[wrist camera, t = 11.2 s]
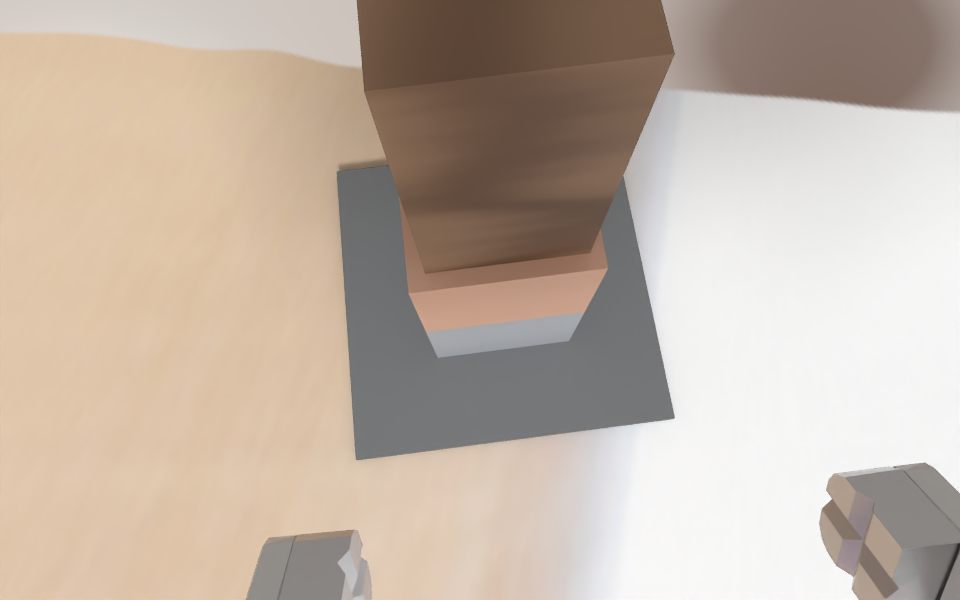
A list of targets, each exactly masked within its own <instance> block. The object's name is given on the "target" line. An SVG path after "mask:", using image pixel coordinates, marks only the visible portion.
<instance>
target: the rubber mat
mask: <svg viewBox="0 0 960 600" xmlns="http://www.w3.org/2000/svg"><path fill="white" fill-rule="evenodd" d="M337 182H338V197H339V212H340V227H341V242H342V257H343V272H344V287H345V302H346V317H347V332H348V347H349V362H350V377H351V392H352V407H353V422H354V437H355V452H356V460H363V459H371V458H378V457H386V456H394V455H401V454H409V453H417V452H424V451H432V450H439V449H447V448H455V447H462V446H470V445H478V444H485V443H493V442H501V441H508V440H516V439H524V438H531V437H539V436H547V435H554V434H562V433H570V432H577V431H585V430H593V429H600V428H608V427H616V426H623V425H631V424H639V423H646V422H654V421H662V420H669V419H674V418H675V417H674V412H673V408H672V403H671V398H670V393H669V389H668V384H667V379H666V375H665V370H664V365H663V361H662V356H661V351H660V347H659V342H658V337H657V333H656V328H655V323H654V318H653V314H652V309H651V304H650V300H649V295H648V290H647V286H646V281H645V276H644V272H643V267H642V262H641V257H640V253H639V248H638V243H637V239H636V234H635V229H634V225H633V220H632V215H631V211H630V206H629V201H628V197H627V192H626V187H625V182H624V178H623V177H622V179H621V182H620V184H619V186H618V189H617V191H616V193H615V196H614V198H613V200H612V203H611V205H610V207H609V210H608V212H607V215H606V217H605V219H604V222H603V224H602V226H601V233H602V238H603V244H604V249H605V254H606V259H607V264H608V270H607V272H606V273H605V275H604V277H603V279H602V281H601V283H600V285H599V286H598V288H597V290H596V292H595V294H594V296H593V298H592V299H591V301H590V303H589V305H588V307H587V309H586V310H585V312H584V314H583V316H582V318H581V320H580V322H579V323H578V325H577V327H576V329H575V331H574V333H573V335H572V336H571V338H570V340H569V341H565V342H558V343H550V344H542V345H534V346H527V347H519V348H511V349H503V350H495V351H488V352H480V353H472V354H464V355H456V356H449V357H441V358H438V357H437V355H436V353H435V351H434V348H433V346H432V344H431V342H430V340H429V337H428V335H427V333H426V331H425V329H424V326H423V324H422V322H421V320H420V318H419V315H418V313H417V311H416V309H415V307H414V305H413V302H412V300H411V298H410V296H409V294H408V283H407V273H406V263H405V253H404V242H403V232H402V222H401V212H400V201H399V194H398V191H397V188H396V185H395V182H394V179H393V176H392V173H391V170H390V167H389V165H387V166H379V167H371V168H363V169H354V170H346V171H338V172H337Z"/></svg>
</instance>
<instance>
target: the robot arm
mask: <svg viewBox="0 0 960 600" xmlns="http://www.w3.org/2000/svg"><path fill="white" fill-rule="evenodd" d="M826 491H827V492H828V494H829V495H830V496H831V498H832V500H831V501H830V502H829V503H828V504H827V505H825V506H824V507H823V508H822V511H821V516H820V522H819V525H820V530H821V536H822V540H823V543H824V545H825V547H826V550H827V552H828V554H829V555H830V557H831V558H832V560H833V561H834V563H835V564H836V566H838V567H839V568H841V569H843V570H844V571H846V572H847V573H849V574H851V575H852V576H853V583H852V590H853V592H854V593H855V595H856V596H857V598H858V599H859V600H960V493H959V492H958V491H957V490H956V489H955V488H954V487H953V486H952V485H951V484H950V483H949V482H948V481H947V480H946V479H945V478H944V477H943V476H942V475H941V474H940V473H939V472H938V471H937V470H936V469H935V468H933V467H932V466H930V465H928V464H926V463H918V464H909V465H901V466H894V467H882V468H874V469H866V470H859V471H851V472H843V473H835V474H833V476H832V477H831V478H830V479H829V481H828V485H827V489H826ZM361 549H362V542H361V539H360V535H359V532H358V530H346V531H335V532H323V533H312V534H301V535H294V536H283V537H273V538H268V539H267V541H266V542H265V544H264V545H263V547H262V550H261V553H260V556H259V559H258V562H257V565H256V569H255V572H254V575H253V578H252V581H251V585H250V588H249V591H248V594H247V597H246V600H372V584H371V577H370V570H369V567H368V563H367V561H366V560H364V559H363V558H361Z"/></svg>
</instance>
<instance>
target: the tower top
mask: <svg viewBox="0 0 960 600" xmlns="http://www.w3.org/2000/svg"><path fill="white" fill-rule="evenodd" d="M399 201H400V212H401V222H402V232H403V242H404V253H405V263H406V273H407V283H408V294H409V296H410V298H411V300H412V302H413V305H414V307H415V309H416V311H417V313H418V315H419V318H420V320H421V322H422V324H423V326H424V329H425V331H426V332H433V331H441V330H449V329H457V328H465V327H472V326H480V325H488V324H496V323H504V322H512V321H519V320H527V319H535V318H543V317H551V316H559V315H566V314H574V313H582V312H585V310H586V309H587V307H588V305H589V303H590V301H591V299H592V298H593V296H594V294H595V292H596V290H597V288H598V286H599V285H600V283H601V281H602V279H603V277H604V275H605V273H606V272H607V270H608V264H607V259H606V254H605V249H604V244H603V238H602V233H601V229H600V231H599V233H598V236H597V238H596V240H595V243H594V245H593V248H592V250H591V252H590V253H587V254H579V255H571V256H563V257H555V258H547V259H539V260H531V261H523V262H515V263H507V264H499V265H491V266H483V267H475V268H467V269H459V270H451V271H443V272H435V273H427V274H425V272H424V269H423V266H422V263H421V260H420V257H419V254H418V251H417V248H416V245H415V242H414V239H413V236H412V233H411V230H410V227H409V224H408V221H407V218H406V215H405V212H404V209H403V206H402V203H401V200H400V197H399Z"/></svg>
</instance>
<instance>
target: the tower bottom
mask: <svg viewBox="0 0 960 600" xmlns="http://www.w3.org/2000/svg"><path fill="white" fill-rule="evenodd" d="M583 314H584V312H582V313H574V314H566V315H559V316H551V317H543V318H535V319H527V320H519V321H512V322H504V323H496V324H488V325H480V326H472V327H465V328H457V329H449V330H441V331H433V332H426V333H427V335H428V337H429V340H430V342H431V344H432V346H433V348H434V351H435V353H436V355H437V357H438V358H441V357H449V356H456V355H464V354H472V353H480V352H488V351H495V350H503V349H511V348H519V347H527V346H534V345H542V344H550V343H558V342H565V341H569V340H570V338H571V336H572V335H573V333H574V331H575V329H576V327H577V325H578V323H579V322H580V320H581V318H582V316H583Z"/></svg>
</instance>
